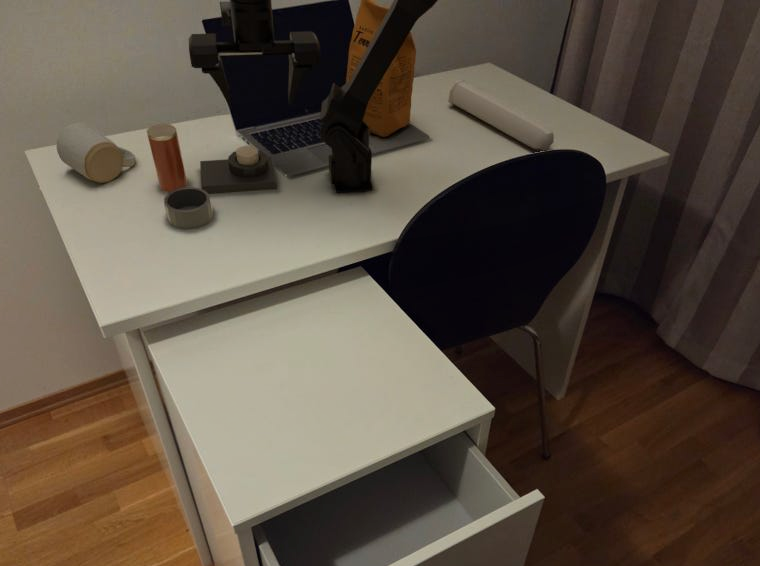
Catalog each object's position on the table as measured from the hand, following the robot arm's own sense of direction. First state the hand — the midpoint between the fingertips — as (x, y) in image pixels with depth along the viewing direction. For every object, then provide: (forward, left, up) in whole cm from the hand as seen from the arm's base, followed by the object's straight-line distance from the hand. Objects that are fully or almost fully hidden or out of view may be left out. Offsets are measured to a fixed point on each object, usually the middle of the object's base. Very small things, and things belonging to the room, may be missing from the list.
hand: (260, 105), depth 100 cm
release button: (+3, -1, -10) cm, 10 cm away
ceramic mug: (+27, -6, -13) cm, 31 cm away
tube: (-47, -13, -13) cm, 51 cm away
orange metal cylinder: (+16, +1, -13) cm, 20 cm away
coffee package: (-23, -18, -13) cm, 32 cm away
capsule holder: (+13, +10, -13) cm, 21 cm away
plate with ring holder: (+5, 0, -13) cm, 14 cm away
